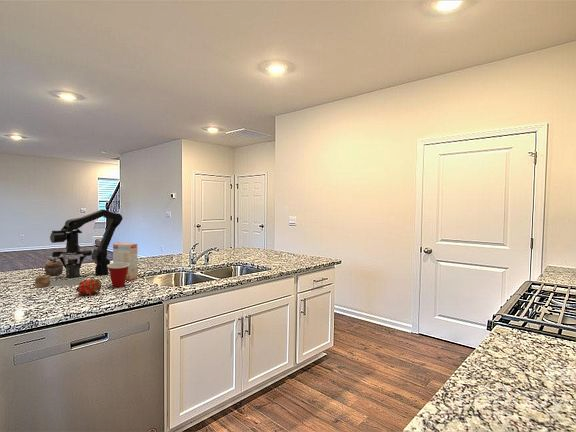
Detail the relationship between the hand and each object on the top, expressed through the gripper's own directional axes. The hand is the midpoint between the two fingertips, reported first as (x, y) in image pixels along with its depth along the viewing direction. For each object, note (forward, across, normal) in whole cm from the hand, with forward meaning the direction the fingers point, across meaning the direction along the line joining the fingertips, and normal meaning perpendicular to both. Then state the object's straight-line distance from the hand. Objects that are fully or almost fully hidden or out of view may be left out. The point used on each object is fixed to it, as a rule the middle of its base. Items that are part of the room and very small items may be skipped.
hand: (72, 268), depth 195 cm
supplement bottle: (+7, 0, 0) cm, 7 cm away
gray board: (+6, +3, +14) cm, 16 cm away
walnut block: (+5, +10, +18) cm, 21 cm away
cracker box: (+7, -28, +7) cm, 30 cm away
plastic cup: (+7, -26, +25) cm, 37 cm away
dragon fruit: (+7, -14, +38) cm, 41 cm away
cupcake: (+7, +13, -16) cm, 22 cm away
